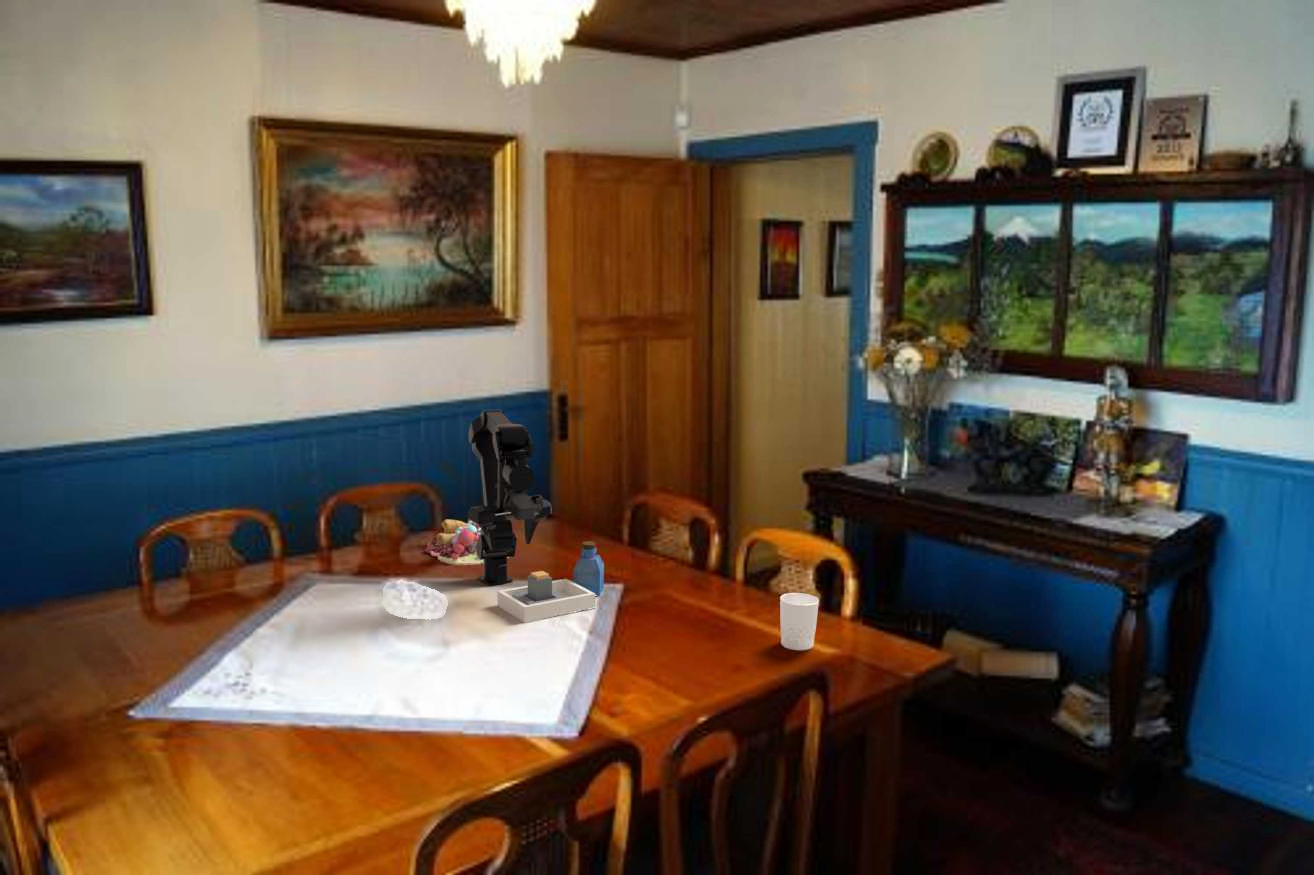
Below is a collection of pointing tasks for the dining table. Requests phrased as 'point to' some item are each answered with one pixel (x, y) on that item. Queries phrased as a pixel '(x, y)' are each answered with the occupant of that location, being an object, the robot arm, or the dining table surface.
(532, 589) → the plug
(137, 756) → the dining table surface
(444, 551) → the food platter
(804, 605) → the white cup
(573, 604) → the box
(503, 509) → the robot arm
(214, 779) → the dining table surface
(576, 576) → the perfume bottle
